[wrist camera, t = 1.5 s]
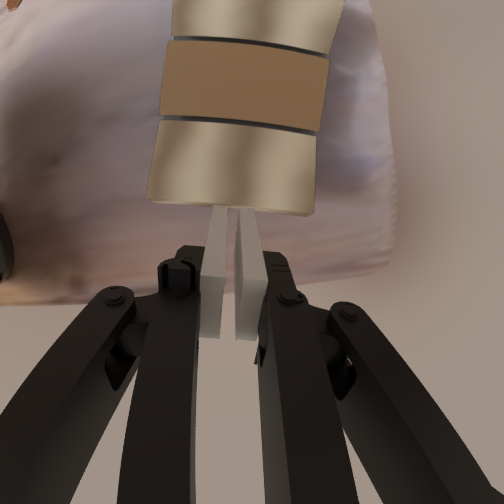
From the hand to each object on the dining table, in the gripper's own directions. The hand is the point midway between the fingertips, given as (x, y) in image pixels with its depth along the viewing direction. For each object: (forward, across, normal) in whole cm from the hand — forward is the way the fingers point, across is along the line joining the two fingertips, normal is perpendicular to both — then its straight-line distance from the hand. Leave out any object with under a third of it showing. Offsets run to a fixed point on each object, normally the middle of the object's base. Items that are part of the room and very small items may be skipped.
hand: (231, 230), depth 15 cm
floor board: (+14, 0, +9) cm, 17 cm away
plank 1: (+11, 0, +17) cm, 20 cm away
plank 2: (+11, 0, +1) cm, 11 cm away
